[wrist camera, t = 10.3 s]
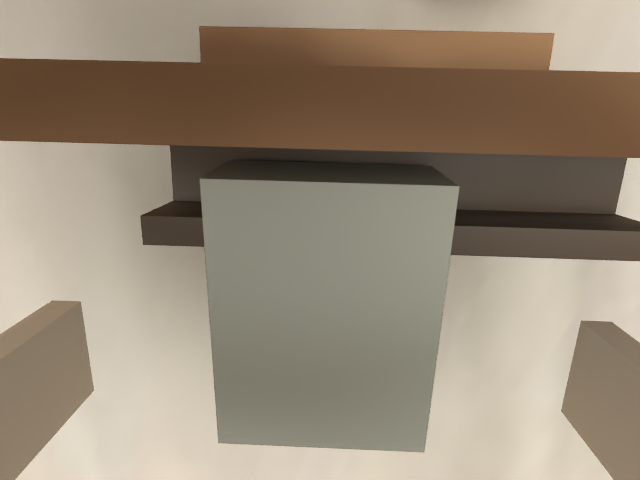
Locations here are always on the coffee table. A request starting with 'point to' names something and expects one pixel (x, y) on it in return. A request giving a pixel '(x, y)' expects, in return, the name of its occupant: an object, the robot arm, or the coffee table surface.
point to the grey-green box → (326, 300)
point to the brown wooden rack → (365, 124)
